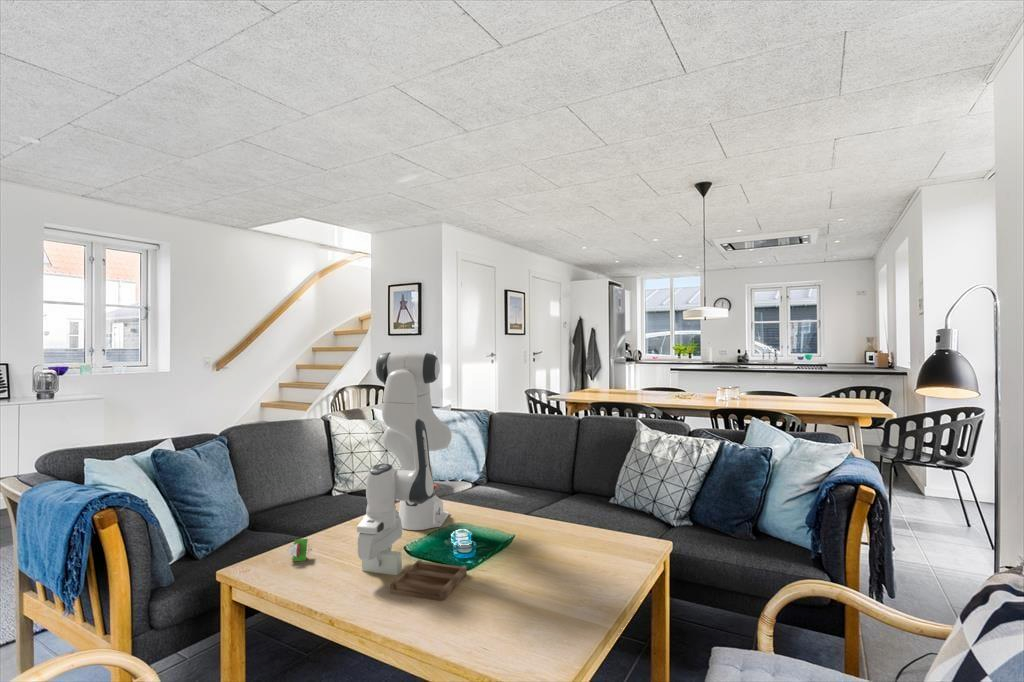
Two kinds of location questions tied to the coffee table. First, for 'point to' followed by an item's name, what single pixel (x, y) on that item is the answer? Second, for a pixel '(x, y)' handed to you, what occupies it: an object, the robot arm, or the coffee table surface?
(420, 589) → the brown wooden flat frame
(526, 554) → the coffee table surface
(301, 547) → the geometric puzzle
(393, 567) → the white rectangular block
